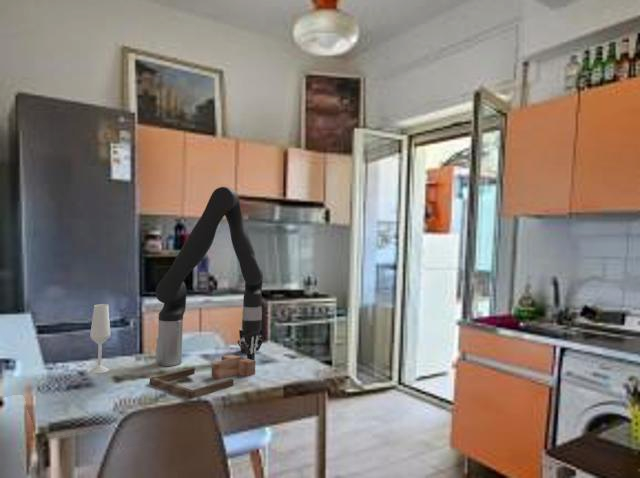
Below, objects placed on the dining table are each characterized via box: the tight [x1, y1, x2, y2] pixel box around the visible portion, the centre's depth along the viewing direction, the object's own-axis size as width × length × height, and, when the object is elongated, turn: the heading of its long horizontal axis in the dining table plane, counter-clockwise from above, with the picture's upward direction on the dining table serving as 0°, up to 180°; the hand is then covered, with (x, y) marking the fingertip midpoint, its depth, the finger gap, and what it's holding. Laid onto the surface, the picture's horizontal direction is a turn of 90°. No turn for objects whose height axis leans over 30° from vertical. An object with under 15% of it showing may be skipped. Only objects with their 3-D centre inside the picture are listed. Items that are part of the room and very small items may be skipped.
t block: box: [211, 353, 256, 380], centre depth 170 cm, size 14×13×5 cm
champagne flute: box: [88, 303, 111, 374], centre depth 170 cm, size 7×7×24 cm
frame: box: [149, 367, 234, 399], centre depth 156 cm, size 22×18×2 cm
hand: (250, 362), depth 179 cm, fingers closed
